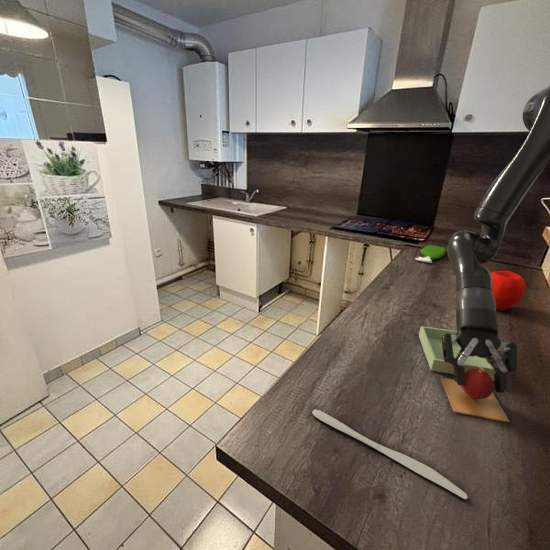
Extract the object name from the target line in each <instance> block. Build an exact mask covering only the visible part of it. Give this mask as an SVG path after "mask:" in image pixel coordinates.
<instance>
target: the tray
mask: <svg viewBox="0 0 550 550" xmlns="http://www.w3.org/2000/svg"><path fill="white" fill-rule="evenodd" d="M418 332H419V333H418V337H419V341H420V343H421V346H422V350H423V353H424V355H425V358H426V361H427V363H428V366H429V369H430V371H431V372H437V373H443V374H449V375H454V367H453V365H452V364H450V363H448V362H445V361H444V357H443V348H442V340H441V337H442V336H443V335H445V334H446V333H449V334H450V335H456V334H457V330H452V329H446V328H445V329H444V328H439V327H438V328H436V327H432V326H431V327H430V326H422V325H421V326H420V329H419V331H418ZM452 347H453V355H454V358H456V357H457V354H458V352H459V351H460V349H461V347H460V346H459V344H458V343H457V342H456V340H455V341H454V344H452ZM463 367H464V368H465V371H467V370H470V369H474V368H477V367H478V368H479V367H481V368H483V369H484V370H485V371H486V372H487V373H488V374H489V375H490V377H491V378H492V380H493V382H494V373H496V372H495V371H494V369H493V368H492V366H491V365H490V364H489V363H488V362H487V360H486V359H485V358H480V357H477V356H469V357H468V358H467V359H466V361H465V363H464V364H463Z"/></svg>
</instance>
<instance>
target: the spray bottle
mask: <svg viewBox="0 0 550 550" xmlns="http://www.w3.org/2000/svg"><path fill="white" fill-rule="evenodd" d="M420 253H421V255H423V256H424V257H421V256H420V255H419V256H418V257H415V258H414V259H415V261H418V262H423V263H429V264H432V263H433V261H435V260H439V259H441V258H443V257H444V256H445V254H446V253H447V248H446V247H444V246H443V247H442V246H437V245H433V244H428V245H426V246H424V247H423V248H421V250H420Z"/></svg>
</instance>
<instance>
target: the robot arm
mask: <svg viewBox="0 0 550 550" xmlns="http://www.w3.org/2000/svg"><path fill="white" fill-rule="evenodd" d="M522 121H523V124H524V126H525V128H526V129H527V131H528V134H527V137H526V138H525V140H524V142H523V143H522V145H521V146H520V148H519V149H518V151H517V152H516V153H515V154H514V156H513V157H512V158H511V160H510V161H509V162H508V163H507V165H505V167H504V168H503V169H502V170H501V172H499V174H498V175H497V176H496V177H495V179H494V180H493V181H492V183H491V184H490V185H489V187H488V188H487V190H486V191H485V193H484V195H483V196H482V198H481V200H480V201H479V203H478V205H477V207H476V208H475V210H474V212H473V214H472V218H473V220H474V221H476V222H477V223H479V224H480V225H481V226H480V232H479V233H477V232H474V231H470V230H467V229H466V230H465V229H461V230H457V231H455V232H454V233H452V235H451V236H450V237H449V238H448V241H447V245H446V253H447V257H448V259H449V262H450V265H451V268H452V271H453V274H454V276H455V286H456V289H455V290H456V294H455V295H456V296H455V306H454V309H455V320H456V331H457V334H456V335H450V334H449V333H446V334H445V335H443V336H442V337H441V340H442V348H443V357H444V361H445V362H448V363H450V364H452V365H453V367H454V374H453V380H455V382H457V384H458V385H460V386H464V385H465V368H464V367H463V364H464V363H465V361H466V359H467V358H468V357H469V356H477V357H480V358H485V359H486V360H487V362H488V363H489V364H490V365H491V366H492V368H493V369H494V371H495V372H496V373H494V381H493V384H494V392H495V393H501V394H502V393H505V392H506V391H507V389H508V383H507V374H508V373H512V372H517V371H518V353H517V352H518V345H517V343H515V342H513V341H512V342H506V341H501V339H500V338H499V336H498V333H499V326H498V317H497V310H496V304H495V299H494V295H493V286H492V277H491V271H490V269H488V268H487V267H485V266H484V265H485V264H487V263H489V262H490V261H492V260H493V258H494V257H496V255H497V254H498V252H499V249H500V246H501V243H502V240H503V238H504V235H505V231H506V227H507V224H508V222H509V220H510V219H511V217H512V216H513V215H514V213H515V212H516V210H517V208H518V207H519V206H520V204H521V202H522V201H523V199H524V197H525V196H526V194H527V193H528V191H529V190H530V188H531V187H532V186H533V184H534V183H535V181H537V179H538V177H539V176H540V174H541V173H542V172H543V171H544V169H545V168H546V166H547V165H548V164H549V163H550V85H549V86H547V87H545V88H543V89H541V90H540V91H538V92H536V93H534V95H532V96H531V97H530V98H529V99H528V101H527V102H526V103H525V106H524V107H523V111H522ZM455 340H456V342H457V343H458V344H459V346H460V347H461V349H460V351H459V352H458V354H457V357H456V358H454V355H453V347H452V344H454V341H455ZM499 348H500V351H501V352H502V353H503V359H502V357H501V355H500V354H499V352H498V349H499Z"/></svg>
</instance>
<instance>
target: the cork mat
mask: <svg viewBox="0 0 550 550" xmlns="http://www.w3.org/2000/svg"><path fill="white" fill-rule="evenodd" d="M440 380H441V383H442V386H443V388H444V391H445V393H446V397H447V398H448V399H447V400H448V401H449V404H450V407H451V409H452V412H453V413H455V414H460V415H465V416H470V417H476V418H481V419H486V420H491V421H496V422H502V423H508V424H510V420H509V418H508V416H507V414H506V413H505V411H504V409H503V407H502V406H501V403H500V402H499V399H498V398H497V397H496V395H495V393H494V391H493V392H492V394H491V395H490V396H489V397H487V398H484V399H475V398H471V397H469V395H468V394H467V393H465V391H464V390H463V389H462V387H461V386H460V385H458V384H457V382H455V380H454V378H453V379H452V378H448V377H440Z"/></svg>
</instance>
